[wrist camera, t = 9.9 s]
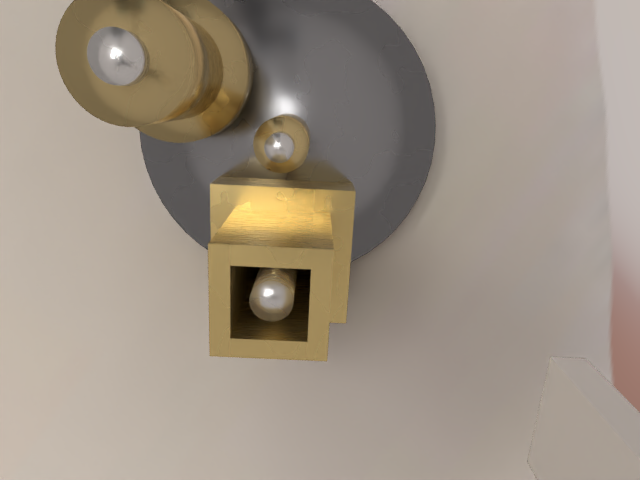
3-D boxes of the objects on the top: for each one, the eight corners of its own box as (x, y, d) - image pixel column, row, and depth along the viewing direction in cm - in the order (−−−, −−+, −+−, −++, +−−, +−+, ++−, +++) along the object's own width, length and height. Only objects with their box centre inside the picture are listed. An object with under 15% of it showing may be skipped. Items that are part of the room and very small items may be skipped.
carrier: (128, -29, 21) (-11, -123, 12) (444, -11, 21) (535, -89, 12) (144, 258, 24) (47, 347, 16) (412, 270, 25) (464, 366, 16)
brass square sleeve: (219, 176, 22) (175, 211, 15) (352, 183, 22) (367, 220, 15) (220, 299, 23) (180, 380, 17) (343, 304, 23) (353, 387, 17)
